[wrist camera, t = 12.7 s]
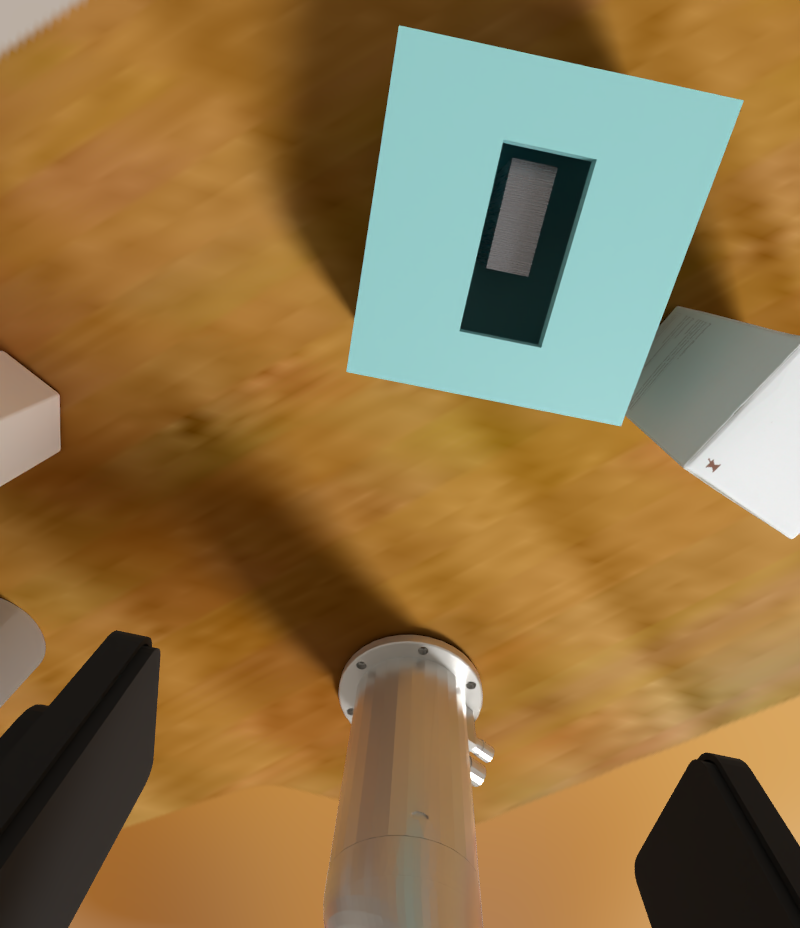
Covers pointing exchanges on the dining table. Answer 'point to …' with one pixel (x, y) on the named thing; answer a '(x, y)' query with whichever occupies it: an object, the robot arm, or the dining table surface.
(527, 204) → the grey metal block
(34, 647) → the cup
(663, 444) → the supplement box
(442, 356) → the coin box
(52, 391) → the jar
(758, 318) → the dining table surface
